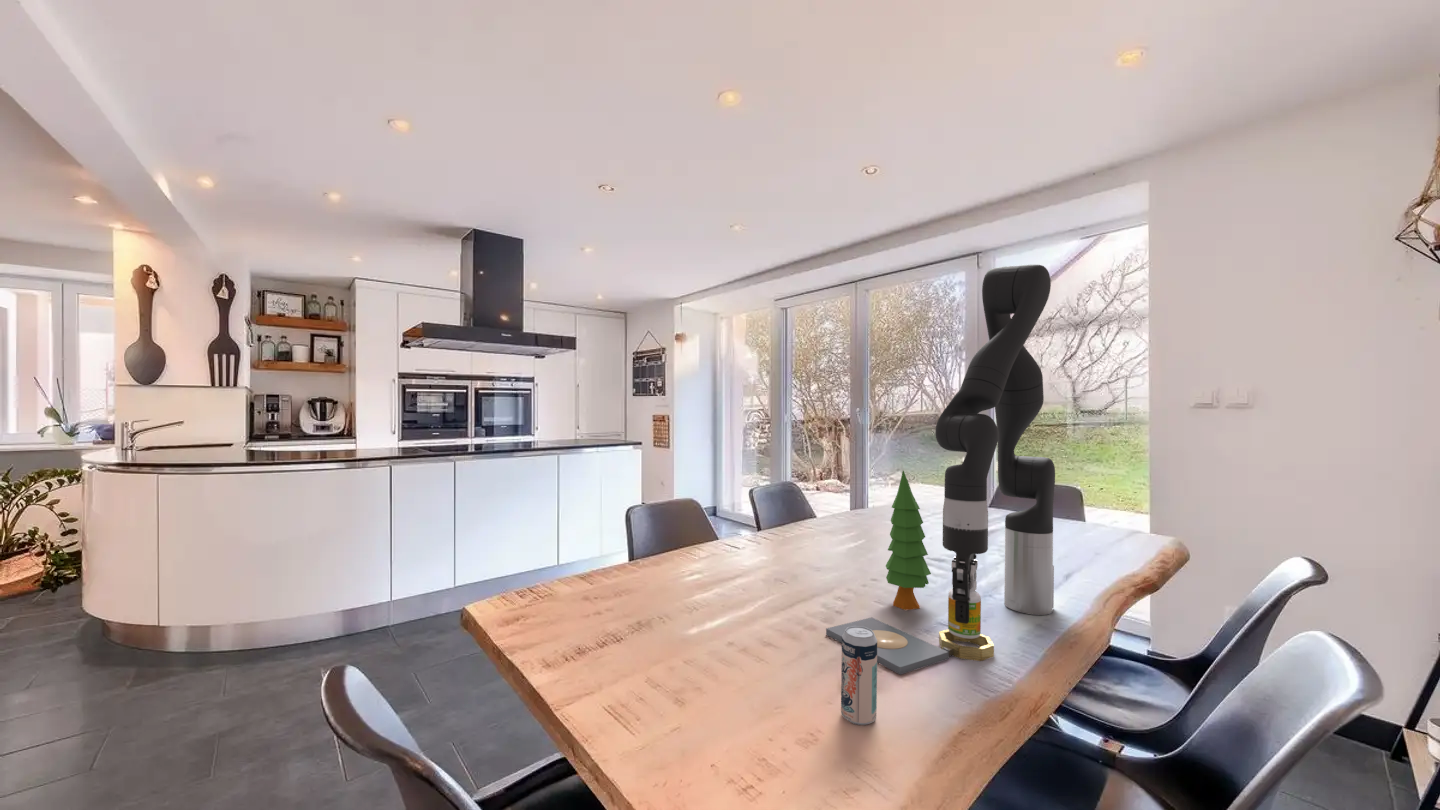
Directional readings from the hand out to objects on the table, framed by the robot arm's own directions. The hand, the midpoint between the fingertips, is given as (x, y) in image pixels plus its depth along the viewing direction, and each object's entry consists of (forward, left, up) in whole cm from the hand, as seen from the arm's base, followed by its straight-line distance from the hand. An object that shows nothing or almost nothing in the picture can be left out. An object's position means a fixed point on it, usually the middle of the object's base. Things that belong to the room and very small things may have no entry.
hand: (964, 616), depth 100 cm
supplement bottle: (0, 0, -3) cm, 3 cm away
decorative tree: (-9, -21, -6) cm, 23 cm away
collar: (0, 0, -6) cm, 6 cm away
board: (+12, -8, -6) cm, 15 cm away
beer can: (+33, +7, -6) cm, 34 cm away
